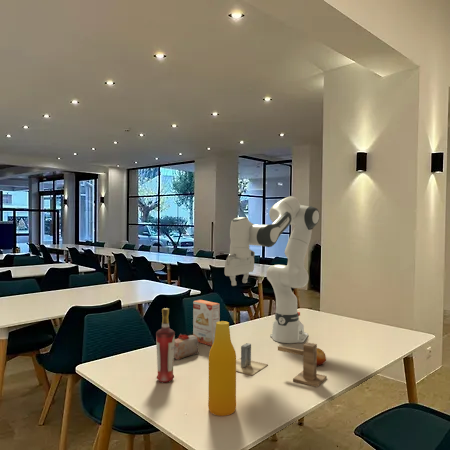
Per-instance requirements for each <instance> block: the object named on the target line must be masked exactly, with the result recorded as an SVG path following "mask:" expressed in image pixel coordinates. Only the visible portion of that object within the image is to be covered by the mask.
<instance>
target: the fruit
mask: <svg viewBox="0 0 450 450" xmlns="http://www.w3.org/2000/svg"><path fill="white" fill-rule="evenodd" d="M326 361H327V357H326V353H325V351H323V349H321V348H319V347H317V367H319V366H321V365H323V364H324V363H326Z"/></svg>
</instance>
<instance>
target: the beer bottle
mask: <svg viewBox="0 0 450 450" xmlns="http://www.w3.org/2000/svg"><path fill="white" fill-rule="evenodd" d="M210 347H211V348H210V349H209V352H208V396H207V397H208V398H207V399H208V400H207V401H208V403H207V405H208V411H209V412H210V414H212V415H214V416H217V417H218V416H220V417H227V416H231V415H232V414H234V413H235V411H237V410H236V409H237V372H236V360H237V354H236V349H235V347H234V346H233V343H232V339H231V331H230V322H228V321H224V320H221V321H219V322H216V330H215V339H214V343H213V345H212V346H210Z"/></svg>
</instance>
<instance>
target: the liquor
mask: <svg viewBox="0 0 450 450" xmlns="http://www.w3.org/2000/svg"><path fill="white" fill-rule="evenodd" d="M161 313H162V314H161V315H162V316H161V317H162V322H161V328H160V329H158V330H157V331H156V332H155V338H156V339H155V340H156V341H155V343H156V361H157V362H156V365H157V367H156V368H157V376H156V378H155V379H157V381H159V382H160V383H162V382H163V383H169V382H172V380H173V379H174V378H175V376H174V359H175V358H174V341H175V339H176V338H175V336H176V335H175V334H176V331H174V330H173V328H172V329H171V328H170V321H169V315H170V308H168V307H166V308H165V307H164V308H162V309H161ZM163 383H162V384H163Z"/></svg>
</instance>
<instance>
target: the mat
mask: <svg viewBox="0 0 450 450" xmlns="http://www.w3.org/2000/svg"><path fill="white" fill-rule="evenodd" d="M267 366H269V363H265V362H264V363H263V362H260V361H255V360H251V365H247V367H246V368H242V367H241V357H239V358H238V359H236V373H238V374H239V373H240V374H243V375H248V376H254V375H256V374H257V373H259V372H260V371H261V370H263V369H265V368H266V367H267Z"/></svg>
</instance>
